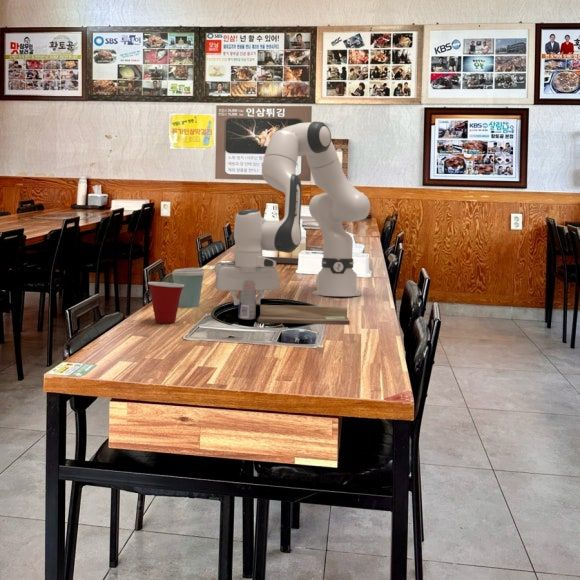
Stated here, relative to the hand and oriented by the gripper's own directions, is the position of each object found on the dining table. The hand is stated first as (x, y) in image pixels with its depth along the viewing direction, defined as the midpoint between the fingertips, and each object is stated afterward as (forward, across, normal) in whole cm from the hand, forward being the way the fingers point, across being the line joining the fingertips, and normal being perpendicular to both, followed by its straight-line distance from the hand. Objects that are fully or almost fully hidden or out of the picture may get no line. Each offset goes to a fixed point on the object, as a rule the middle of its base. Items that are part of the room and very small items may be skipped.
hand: (247, 304), depth 208 cm
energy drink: (+5, 0, 0) cm, 5 cm away
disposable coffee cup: (+5, -15, +19) cm, 25 cm away
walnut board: (+4, +17, -7) cm, 19 cm away
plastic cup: (+5, -26, -3) cm, 26 cm away
